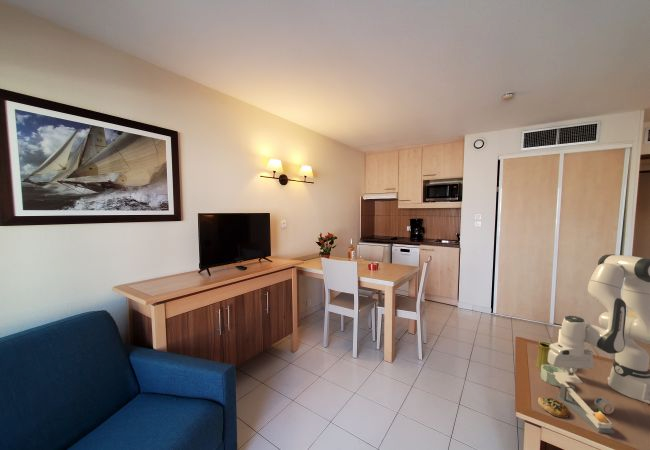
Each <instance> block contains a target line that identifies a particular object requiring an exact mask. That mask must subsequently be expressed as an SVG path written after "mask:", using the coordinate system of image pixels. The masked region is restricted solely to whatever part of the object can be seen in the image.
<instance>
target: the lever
mask: <svg viewBox="0 0 650 450" xmlns="http://www.w3.org/2000/svg"><path fill="white" fill-rule="evenodd" d="M553 374H554V375H555V379H556V380H557V381H558V382H559V383H560V384H564V385H565V386H566V387H567V394H568V393H569V394H570V395H571V396H572V397H573V398H574V400H575V401H576V402H577V403H578V404H579V405H580V406H581V407H582V408H583V409H584V410H585V411H586V412H587V414H586V416H587V417H588V418H589V419H590V420H591V421H592V422H593V424H594V425H595V426H596V427H597V428H604V429H610V428H611V429H612V428H613V425H614V424H613V423H612V422H611V421H610V420H609V418H607V422H606V423H604V422H600V421H599V420H598V419H597V418H596V417H595V414H596V413H600V414H603V413H602V412H601V411H595V412H594V411H593V410H592V409H591V407H590V406H588V404H587V403H586V402H585V401H584V400H583V399H582V398H581V397H580V396H579V394H578V393H576V391H575V392H574V391H573V390H572V388H571V387H570V386H569V384H576V383H577V384H582V383H583V381H582V380H581V379H580V378H579V377H578V376H577V374H575V373H574V376H569V375H566V374H565V373H561V372H554V373H553ZM568 383H569V384H568Z"/></svg>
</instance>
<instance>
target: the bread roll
mask: <svg viewBox="0 0 650 450" xmlns="http://www.w3.org/2000/svg"><path fill="white" fill-rule="evenodd" d="M537 404H538V405H539V407H541V409H542V410H544V411H545V412H546V413H549V414H550V415H552V416H554V417H557V418H568V417H569V416H570V411H569V409H568V406H566V405H565V404H564V403H563V402H561V401H560V400H558V399H557V400H556V399H555V398H552V397H547V396H540V397H538V398H537Z"/></svg>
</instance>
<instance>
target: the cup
mask: <svg viewBox="0 0 650 450" xmlns="http://www.w3.org/2000/svg"><path fill="white" fill-rule="evenodd" d="M554 372H561V373H565V372H563V371H562V370H561V369H559V368H557V367H553V366H552V365H542V366H541V370H540V379H541V380H543V382H545V383H547V384H548V385H551V386H555V387H559V388H561V384H560V383H559V382H558V381H557V380H556V379H555V375H554V374H553V373H554Z"/></svg>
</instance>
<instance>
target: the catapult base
mask: <svg viewBox="0 0 650 450" xmlns="http://www.w3.org/2000/svg"><path fill="white" fill-rule="evenodd" d="M568 385H569V386H570V387H571V388H572V390H573V391H574V392H575V393H576V386H574V385H573V383H569V384H568ZM559 388H560V389H559V394H556V395H555V397H556V399H557V400H558V401H559V402H561V403H562V404H564V405H565V406H566V407H567V408H569V410H571V411H572V412H574V413H575V414H576V415H577V416H578V417H579V418H581V419H582V420H583V421H585V422H586V423H587V424H588V425H589V426H590V427H591V428H592V429H594V430H595V431H597V433H603V434H604V433H605V434H609V433H610V434H614V430H613V429H612V427H611V428H610V429H604V428H597V427H596V426H595V425H594V424H593V422H592V421H591V420H590V419H589V418H588V417H587V416H586V414H587V412H586V411H585V410H584V409H583V408H582V407H581V406H580V405H579V404H578V403H577V401H576V400H575V399H574V398H573V397H572V396H571V395H570V394H569V393H568V392H567V387H566V386H565V385H564V384H561V387H559Z"/></svg>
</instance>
